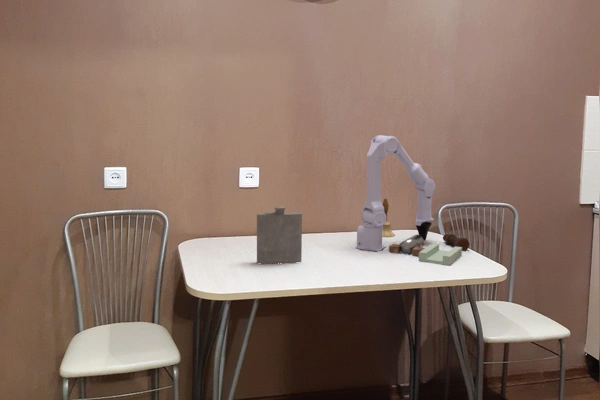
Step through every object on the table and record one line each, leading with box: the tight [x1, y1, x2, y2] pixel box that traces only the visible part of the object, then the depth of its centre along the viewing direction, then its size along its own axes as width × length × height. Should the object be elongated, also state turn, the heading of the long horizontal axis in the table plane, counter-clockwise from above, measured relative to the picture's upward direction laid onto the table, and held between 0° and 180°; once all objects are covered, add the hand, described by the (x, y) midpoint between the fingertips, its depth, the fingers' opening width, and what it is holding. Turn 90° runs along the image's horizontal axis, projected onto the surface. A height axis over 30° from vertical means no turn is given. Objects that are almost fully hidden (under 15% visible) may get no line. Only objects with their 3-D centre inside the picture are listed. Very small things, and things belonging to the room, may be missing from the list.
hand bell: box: [382, 198, 395, 238], centre depth 246 cm, size 8×8×16 cm
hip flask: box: [256, 205, 303, 265], centre depth 200 cm, size 16×4×20 cm, turn 101°
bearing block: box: [388, 243, 426, 257], centre depth 216 cm, size 13×4×2 cm, turn 60°
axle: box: [399, 234, 424, 255], centre depth 221 cm, size 14×5×5 cm, turn 150°
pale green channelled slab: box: [418, 243, 463, 266], centre depth 210 cm, size 11×16×3 cm
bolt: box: [442, 233, 471, 252], centre depth 228 cm, size 6×5×15 cm
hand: (422, 240), depth 232 cm, fingers closed
